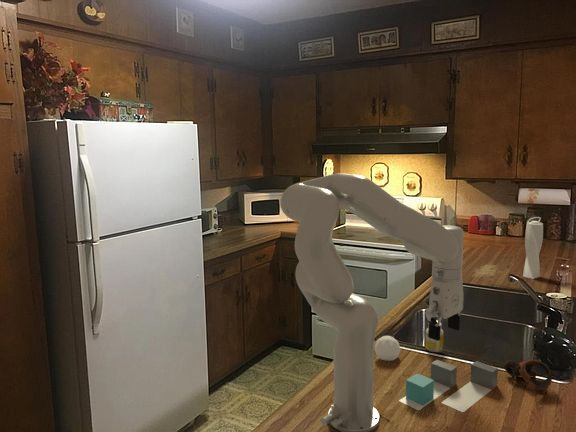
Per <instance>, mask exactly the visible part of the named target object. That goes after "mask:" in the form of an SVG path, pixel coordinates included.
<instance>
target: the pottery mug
mask: <svg viewBox="0 0 576 432" xmlns="http://www.w3.org/2000/svg"><path fill="white" fill-rule="evenodd" d="M534 366H541V368H542V369H543V370H545V372H546V374H547V378H546V379H543V380H542V379H541V380H539V379H535V378H536V377H537V375H538V374H539V373H538V371H535V370H534V369H532V368H533V367H534ZM503 369H504V370H505V372H506V373H508V374H509V376H510V377H511V378H512V379H514V380H515V379H517V378H518V377H520V376H521V377H522V378H523V380H524V381H525V383H527V384H526V387H525V389H527V390H530V391H536V392H537V391H543V390H546V389H547V388H549V386H551V384H552V381H553V379H552V378H553V377H552V376H553V374H552V371H551V369H550V367H549V366H548V365H547V364H545V363H544V362H543V361H541V360H538V359H532V358H531V359H530V358H529V359H527V360H525V361H523V360H522V361H521V362H516V361H515V360H511V359H509V360H506V361H505V362H504V363H503ZM532 378H533V379H535V380H534V381H532V380H531V379H532Z"/></svg>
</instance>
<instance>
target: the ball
mask: <svg viewBox="0 0 576 432" xmlns="http://www.w3.org/2000/svg"><path fill="white" fill-rule="evenodd" d="M373 350H374V352H375V356H376V357H377V358H379V359H380V360H382V361H386V362H388V361H391V362H392V361H395V360H396V359H397V358H399V356H400V353H401V346H400V343H399V341H398V340H397V339H395V338H394V337H393V336H392V335H382V336H381V337H379V338H378V339H376V342H375V343H374V348H373Z"/></svg>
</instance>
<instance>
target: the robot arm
mask: <svg viewBox="0 0 576 432" xmlns="http://www.w3.org/2000/svg"><path fill="white" fill-rule="evenodd" d="M280 208H281V211H282V213H283V214H284V215H285V216H286V217H287V218H289V219H290V220H293V221H295V222H298V223H299V224H298V227H297V229H296V230H297V231H296V235H295V239H294V252H295V255H296V257H297V259H298V263H297V265H296V267H295V274H294V275H295V281H296V284H297V286H298V288H299V290H300V291H301V293H302V294H303V296H304V298H305V299H306V301H307V303H308V304H309V306H310V307H311V309H312V310H313V312H314V313H315V314H316V315H317V317H318V319H320V320H321V321H323V322H324V323H325V324H327V325H328V326H331V327H332V328H333V329H335V330H336V331H337V332H338V337H337V339H336V341H335V344H334V346H333V404H331V407H330V408H329V410H328V412H327V414H326V415H324V416H323V417H321V418H320V423H321V425H322V426H324V427H326V426H327V425H331V427H333V428H334V429H335V430H338V431H339V432H372V431H373V430H375V429H377V427H378V426H379V425H380V414H379V412H378V410H377V409H376V408H375V407H374V347H375V338H376V332H377V329H378V328H377V327H378V323H379V321H378V319H379V315H378V312H377V309H376V308H375V307H374V305H373V304H372V303H371V302H370V301H369V300H367V299H365V298H364V297H361V296H360V295H358V294H356V293H354V288H355V287H354V284H355V283H354V280H353V277H352V275H351V272H350V270H349V269H348V267H347V265H346V264H345V262H344V261H343V258H342V257H341V255H340V253H339V252H338V250H337V248H336V246H335V243H334V240H333V232H334V228H335V226H336V223H337V220H338V218H339V213H340V210H346V211H348V212H349V213H351V214H353V215H355V216H356V217H358V218H359V219H360V220H363V221H364V222H365V223H367V224H368V225H369V226H371V227H372V228H374V229H375V230H377V231H378V232H380V233H382V234H384V235H386V236H388V237H390V238H393V239H396V240H398V241H402V242H403V246H404V248H405V250H406V251H407V252H408V253H410V254H411V255H413V256H415V257H419V258H423V259H426V260H430V261H432V265H431V269H432V270H431V278H432V279H431V283H430V291H429V300H428V301H429V302H428V307H427V309H426V311H424V312H425V313H424V314H425V317H426V321H427V324H429V327H428V328H429V330H428V337H429V338H431V339H434V340H437V341H439V340H440V330H441V329H442V328H441V326H439V324H440V323H442V322H441V321H442V319H445V320H446V319H447V328H448V329H452V330H455V331H459V330H460V323H461V315H462V311H463V309H464V300H465V299H464V285H463V283H464V281H463V276H462V275H463V259H464V239H465V237H464V235H465V232H464V229H463V228H462V227H460V226H458V225H457V226H456V225H447V224H445V225H442V224H441V223H439V222H437V221H435V220H434V219H433V218H430V217H429V216H426V215H424V214H422V213H421V212H419V211H418V210H415V209H413V208H412V207H410V206H408V205H406V204H404V203H402V202H400V201H399V200H398V199H396V198H395V197H394V196H393V195H391V194H390V193H388V192H387V190H385V189H383V188H381V186H379V185H378V184H376V183H375V182H374V181H373V180H371V179H369V178H367V177H366V176H363V175H359V174H351V173H342V172H338V173H332V174H328V175H324V176H322V177H321V176H320V177H317V178H312V179H308V180H304V181H301V182H296V183H294V184H292V185H289V186H288V187H287V188H286V189H285V190H284V191H283V193H282V195H281V198H280ZM435 317H436V318H437V319H436V318H435Z"/></svg>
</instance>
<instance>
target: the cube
mask: <svg viewBox="0 0 576 432" xmlns="http://www.w3.org/2000/svg"><path fill="white" fill-rule="evenodd" d="M405 381H406V382H405V396H406V398H407V399H409V400H412V401H414V402H416V403H418V404H420V405H422V406H423V405H424V404H426V403H427V402H429V401H430V400H431V399H433V397H434V380H432V379H431V377H430V378H429V377H427V376H425V375H422V374H419V373H416V374H414V375H412V376H410V377H409V378H407V379H406V380H405Z"/></svg>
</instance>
